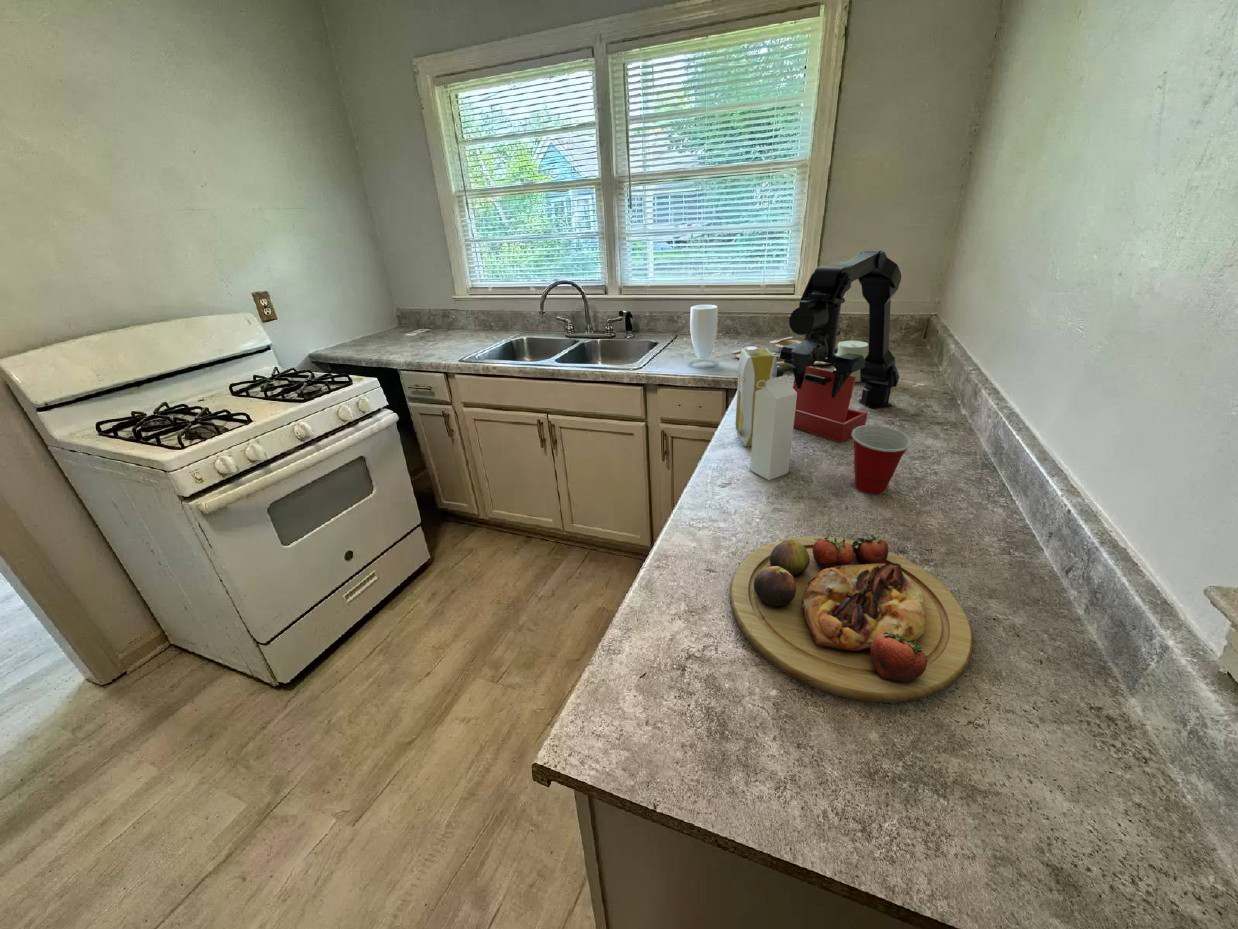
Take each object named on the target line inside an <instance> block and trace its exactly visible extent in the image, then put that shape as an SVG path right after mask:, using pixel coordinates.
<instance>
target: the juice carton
mask: <svg viewBox="0 0 1238 929" xmlns="http://www.w3.org/2000/svg"><path fill="white" fill-rule="evenodd" d="M744 349H745V348H744ZM740 350H741V355H740V359H739V358H738V359H739V360H738V366H737V368H738V369H737V371H738V372H737V386H736V388H737V389H736V406H735V430H736V435H737V437H738V438H739V440H740V442H741V444H742V446H743V447H752V437H753V422H754V408H755V393H756V391H758V390H761V389H763V388H766V382H767V380H770V379H773V378H776V376H777V359H776V356H775V355H773V354H772V353H773V352H771V351H770V350H769V348H766V347H764V348H761V347H759V348H758V347H757V346H751V347H749V348H747V349H745V350H742V349H740Z"/></svg>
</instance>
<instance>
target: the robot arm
mask: <svg viewBox="0 0 1238 929" xmlns="http://www.w3.org/2000/svg"><path fill="white" fill-rule="evenodd" d="M856 280H857V281H858V282H859V284H860V286H861V295H862V297H863V298H864V299H865V301H866V302H867V304H868V307H869V308H868V352H867V353H868V354H866V358H865V359H864V357H863V355H858V354H852V353H847V354H844V355H841V356H837V353H838V347H836V345H837V338H838V336H840V335H841V332H842V331H841V329H839V324H840V317H841V316H840V315H841V310H842V309H841V308H842V304H844V303H845V302H846V299H845V298H844V296H845V295H846V293H847V292H848V291H849V290H851V288H852V283H853V282H854V281H856ZM901 281H902V272H901V270H900V268H899V265H898V264H897V263H896V262H895V261H893V260H892V259H890V258H889V257H888V255H887V253H886V252H885V251H883V250H863V251H861V252H860V253H859V254H858V255H855V256H853V257H851V258H849V259H847V260H844V261H843V262H841V263H839V264H829V265H828V264H827V265H819V266H817V267H816V268H815V269H814V270H813V272H812V273H811V275H810V277H809V279H808V282H807V284H806V286H805V289H804V291H803V293H802V295H801V297H800V301H799V304H798V307H797V308H795V309H794V310H793V311H792V312H791V313H790V316H789V318H788V324H789V328H790V330H791V331H792V332H793V333H794V334H796V335H798V336H804V335H805V338H804V340H803V341H801V343H800V344H796V343H794V344H790V345H787V346H784V347H782V349H781V350H779V355H780V356H779V358H780V359H784V363H787V364H788V365H789V366H790V369H791V371H792V373H793V377H794V378H793V379H795V382H796V385H797V388H798V389H800V388H801V387H802V384H803V380H804V375H805V370H806V367H813V366H814V365H813V364H814V362H816V361H818V362H826V363H831V364H830V365H833V367H834V370H832V372H833V375H834V381H833V387H832V398H834V397H836V395H837V393H838V392H839V390H840V389H841V387H842V386H843V384H844V383H845V381H846V380H847V378H848V377H849V376H850V375H851V373H853V372H855V371H858V370H860V381H859V383H864V387H863V388H862V392H861V398H859V399H858V402H859V403H861V404H863V405H865V406H866V407H867V408H870V409H877V408H885V407H892V406H893V403H891V402H889V401H890V396H891V391H892V388H897V386H898V383H899V381H900V374H899V371H898V368H897V367H896V358H895V356H894V355H893V353H892V352H891V351H890V326H891V305H892V304H891V303H892V301H891V300H892V299H893V297H894V296H895V295H896V293H897V292H898V291H899V286H900V285H901ZM835 354H836V355H835ZM835 369H836V370H835Z"/></svg>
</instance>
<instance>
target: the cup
mask: <svg viewBox="0 0 1238 929" xmlns="http://www.w3.org/2000/svg"><path fill="white" fill-rule="evenodd" d="M718 308H719V307H718V306H717V305H716V304H715V305H714V304H696V305H692V306H691V307H690V314H689V315H690V316H689V325H690V327H689V328H690V329H689V330H690V337H691V342H692V346H693V350H694V353H695V355H696V357H697V359H709V358H710V357H711V354H712V352H713V350H714V346H715V343H716V338H717V334H718V321H719V320H718V318H719V315H718V314H719V310H718Z"/></svg>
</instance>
